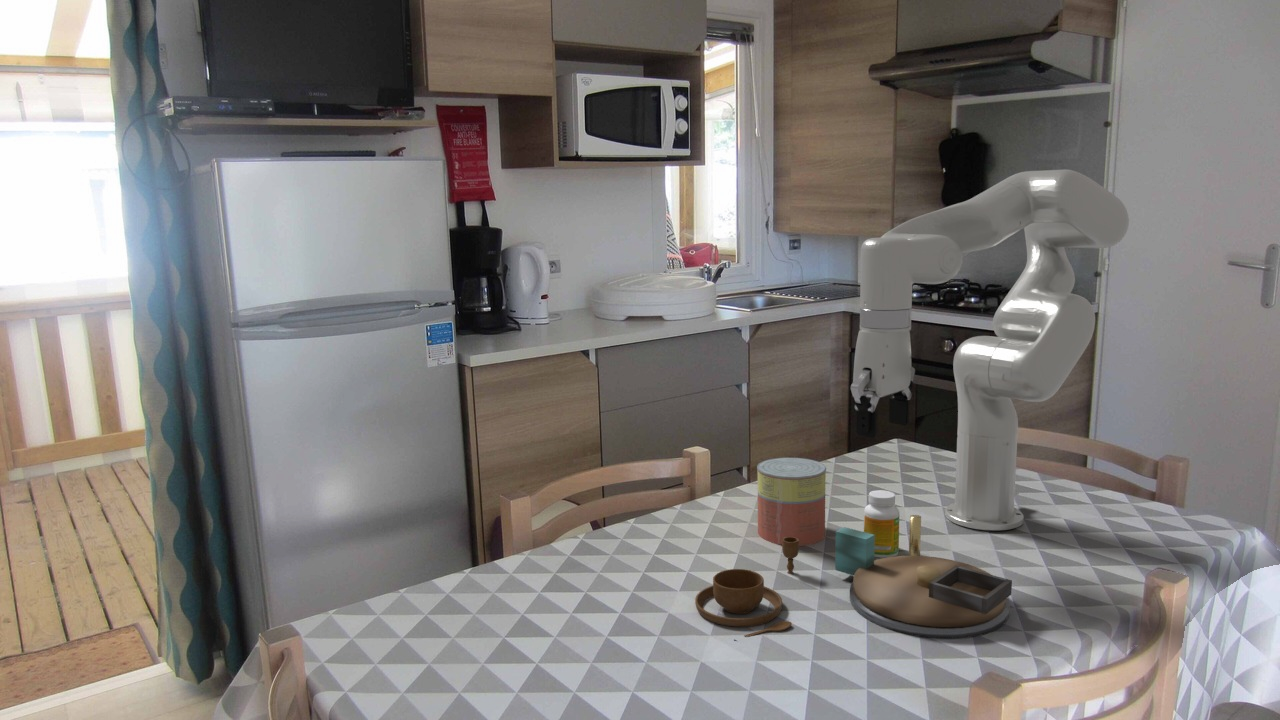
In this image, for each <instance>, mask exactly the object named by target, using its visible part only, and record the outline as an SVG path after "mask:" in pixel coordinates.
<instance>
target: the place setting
mask: <svg viewBox="0 0 1280 720" xmlns="http://www.w3.org/2000/svg"><path fill="white" fill-rule="evenodd" d="M781 546H782V549H781V550H782V554H783V556H784V557H785V558H787V565H786V568H787V570H788V571H787V572H786V573H787V574H788V575H793V574H794V569H795V565H794V559H796V558H797V557H798V554H799V549H800V546H799V539H798V538H795V537H785V538H783V539H782V545H781ZM764 579H765V578H764V577H763V576H762V575H761V574H760V573H758V572H756V571H754V570H750V569H744V568H732V569H726V570H721V571H720V572H717V573H715V574H714V576H713V577H712V585H710V586H707V587H706V588H703V589H701V590H700V591H699V592H698V593H697V594H696V596H695V598H694V600H695V603H694V604H695V607H696V610H697V611H698V613H699V614H700V615H701V616H702V617H703V618H704V619H705V620H707V621H710V622H712V623H714V624H718V625H721V626H726V627H734V628H735V627H736V628H745V627H746V628H748V627H754V626H760V625H764V624H767V623H768V622H771V621H773V620H774V619H775V618H777V616H778V615H779V614H781V613H780V612H781V610H782V608H783V599H782V597H781V595H780V594H779V593H777V592H776V591H775V590H774V589H771V588H769V587H766V586H764V585H765V581H764ZM713 597H714V599H715V601H716V603H717V604H718V605H719V606H721V607H722V608H724V610H725V611H726V612H728V613H731V614H734V615H735V614H736V615H743V614H747V613H750V612H752V611H753V610H754V608H756V607H758V606H760V604H761V603H762V602H763V599H765V600H766V601H767V602H769V603H770V604H771V605H772V606H773V608H774V610H773V611H771V612H769V613H767V614H763V615H759V616H755V617H749V618H748V617H747V618H745V617H744V618H736V617H735V618H734V617H733V618H732V617H725V616H720V615H717V614H714V613H711V612H709V611H707V610H705V609H704V608H703V607H704V605H705V603H706V601H708V600H709V599H710V598H713ZM790 627H792V621H789V620H788V621H779V622H775V623H773V624H772V625H770V626H769V627H766V628H764V629H761V630H758V631H754V632H751V633H748V634H744V635H743V637H744V638H750V637H753V636H756V635H759V634H764V633H766V632H773V633H775V632H777V633H778V632H782V631H785V630H787V629H789V628H790ZM736 641H737V642H738V640H736V639H733V642H736Z"/></svg>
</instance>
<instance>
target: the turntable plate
mask: <svg viewBox="0 0 1280 720" xmlns="http://www.w3.org/2000/svg"><path fill="white" fill-rule="evenodd" d="M874 546H875V535H873V534H870V533H866V532H864V531H861V530H857V529H854V528H849V527H845V526H844V527H841V528H839V529H838V530H836V531H835V561H834V563H835V564H834V565H835V571H838V572H841V573H844V574H847V575H850V576H853V579H852V580H853V582H852V583H853V590H854V594H855V596H856V597H857V599H858V600H859V601H860V602H861V603H862V604H863V605H865V606H866V607H867V608H869V609H871V610H873V611H874V612H877V613H879V614H881V615H883V616H886V617H889V618H892V619H895V620H898V621H902V622H907V623H911V624H917V625H923V626H933V627H963V626H971V625H976V624H981V623H984V622H987V621H990V620H992V619H994V618H996V617H997V616H999V615H1000V614H1001V613H1002V612H1003V610H1004V609H1005V605H1006V598H1007V599H1008V598H1009V597H1010V596H1011V595H1012V587H1013V586H1012V584H1013V579H1008V578H1005V577H1001V576H996V575H993V574H992V573H990V572H988V571H986V570H984V569H981V568H979V567H976V566H974V565H972V564H968V563H965V562H962V561H957V560H952V559H948V558H942V557H936V556H935V557H934V556H925V555H920V556H909V555H896V556H894V557H888V558H879V559H876V560H875V557H874Z"/></svg>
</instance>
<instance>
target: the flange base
mask: <svg viewBox="0 0 1280 720" xmlns="http://www.w3.org/2000/svg"><path fill="white" fill-rule="evenodd" d="M921 531H922V516H921V515H919V514H912V515H910V516H909V538H908V539H909V542H908V543H909V544H908V545H909V547H908V548H909V549H908V556H921V541H922V540H921V539H922V538H921V537H922V535H921V534H922V533H921ZM849 603H850V604H851V606H852V607H853V609H854V610H855V611H856V613H858V614H859V615H860V616H862V617H863V618H864V619H866V620H868V621H869V622H871V623H873V624H876V625H878V626H880V627H882V628H885V629H889V630H891V631H894V632H898V633H902V634H906V635H910V636H917V637H922V638H931V639H966V638H967V639H968V638H973V637H979V636H983V635H987V634H990V633H992V632H994V631H997V630H998V629H1000V628H1001V627H1003V626H1004V625H1005V624H1006V623H1007V622H1008V620H1009V618H1010V602H1009V600H1008V598H1006V605H1005V609H1004V610H1003V612H1002V613H1001V614H1000V615H999V616H997V617H996V618H994V619H992V620H990V621H987V622H984V623H981V624H976V625H971V626H963V627H933V626H923V625H917V624H911V623H907V622H902V621H898V620H895V619H892V618H889V617H886V616H883V615H881V614H879V613H877V612H874V611H873V610H871V609H869V608H867V607H866V606H865V605H863V604H862V603H861V602H860V601H859V600H858V599H857V597H856V596H855V594H854V590H853V582H852V583H851V585H850V587H849Z"/></svg>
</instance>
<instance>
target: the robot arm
mask: <svg viewBox="0 0 1280 720" xmlns="http://www.w3.org/2000/svg"><path fill="white" fill-rule="evenodd" d="M1129 219H1130V218H1129V213H1128V209H1127V208H1126V206H1125V204H1124V203H1123V201H1122V200H1121V199H1120V198H1119V197H1118V196H1117V195H1115V194H1113V193H1112V192H1111V191H1109V190H1108V189H1106V188H1105V187H1103V186H1102V185H1101V184H1099V183H1098V182H1097V181H1095V180H1093V179H1092V178H1090V177H1088V176H1087V175H1085V174H1082V173H1081V172H1079V171H1076V170H1073V169H1049V170H1045V169H1044V170H1028V171H1021V172H1020V171H1019V172H1018V173H1017V172H1016V173H1015V174H1013V175H1011V176H1008V177H1007V178H1005V179H1003V180H1001V181H999V182H997V183H996V184H994V185H993V186H991V187H989V188H987V189H986V190H984V191H982V192H980V193H979V194H977V195H974V196H973V197H972V198H970V199H967V200H965V201H962V202H957V203H955V204H951V205H948V206H946V207H943V208H941V209H938V210H934V211H931V212H928V213H925V214H922V215H919V216H915V217H914V218H911V219H908V220H906V221H905V222H903V223H901V224H899V225H897V226H895V227H893V228H892V229H890V230H888V231H887V232H886V233H884V234H882V236H880V237H871V238H868V239H867V238H866V240H864V241H863V242H862V245H861V248H860V282H859V283H860V284H859V285H860V286H859V287H860V288H859V289H860V291H859V292H860V293H859V294H860V296H859V299H860V300H859V330H858V335H857V339H856V345H855V350H854V361H853V376H852V383H851V385H850V391H851V394H852V401H853V404H854V409H855V411H856V426H855V427H856V430H855V431H856V435H858V436H859V437H860V436H861V437H865V438H870V439H871V438H872V439H874V438H877V436H878V411H876V408H877V405H878V403H879V401H880V398H884V397H888V396H891V397H889V402H888V403H889V404H888V405H889V406H888V408H889V409H888V421H889V423H890V424H893V425H894V424H895V425H900V426H908V425H909V424H910V402H911V401H910V400H911V398H912V392H911V391H912V389H913V386H914V382H913V381H914V376H915V374H916V369H915V368H914V367H913V366H912V346H911V345H912V344H911V333H910V331H912V303H913V299H912V298H913V296H912V295H913V285H914V284H925V285H926V284H927V285H940V284H944V283H946V282H948V281H950V280H952V279H954V277H955V276H956V275H958V273H959V272H960V269H961V268H962V264H963V261H964V260H963V259H964V258H963V254H964V253H973V252H977V251H983V250H987V249H990V248H993V247H995V246H997V245H999V244H1000V243H1002V242H1003V241H1005V240H1006V239H1008V238H1009V237H1011V236H1013V235H1014V234H1016V233H1018V232H1019V231H1021V230H1024V239H1025V245H1026V256H1027V257H1026V264H1025V267H1024V269H1023V271H1022V272H1021V274H1020V275H1019V277H1018V278H1017V280H1016V281H1015V283H1014V284H1013V286H1012V287H1011V289H1010V290H1009V291H1008V293H1007V294H1006V295H1005V297H1004V299H1003V300H1002V301H1001V303H1000V305H999V306H998V308H997V310H996V311H995V313H994V316H993V319H992V329H993V331H994V334H995V335H996V336H992V335H991V336H990V335H977V336H972V337H969V338H968V339H965V340H963V342H961V343H960V345H959V346H958V347H957V349H956V351H955V353H954V356H953V360H952V361H953V362H952V363H953V364H952V366H953V368H952V369H953V376H954V381H955V387H956V395H957V411H958V412H957V431H956V432H957V433H956V434H957V435H956V436H957V437H956V465H955V467H956V468H955V488H954V489H955V490H954V491H955V494H954V502H953V503H950V504H949V505H947V506H946V507H945V513H944V514H945V517H946V518H947V520H949V521H950V522H951V523H953V524H955V525H958V526H961V527H965V528H969V529H974V530H981V531H991V532H992V531H993V532H994V531H1007V530H1013V529H1016V528H1019V527H1021V526H1022V525H1023V524H1024V519H1025V518H1024V514H1023V513H1022V512H1021V511H1020V510H1019V509H1017V508H1015V498H1016V497H1017V496H1019V494H1020V490H1019V488H1018V487H1017V486H1016V474H1017V473H1016V472H1017V452H1018V433H1019V432H1018V431H1019V420H1018V419H1019V418H1018V414H1017V410H1016V408H1015V405H1014V402H1013V401H1012V399H1014V400H1020V401H1024V402H1031V403H1040V402H1045V401H1048V400H1049V399H1050V398H1052V397H1054V395H1055V394H1056V393H1057V392H1058V391H1059V389H1060V388H1061V387H1062V386H1063V384H1064V382H1065V381H1066V379H1067V378H1068V377H1069V375H1070V374H1071V372H1072V370H1073V369H1074V367H1075V366H1076V365H1077V363H1078V362H1079V360H1080V359H1081V357H1082V356H1083V353H1084V352H1085V351H1086V350H1087V348H1088V346H1089V344H1090V342H1091V340H1092V338H1093V334H1094V332H1095V327H1096V314H1095V309H1094V307H1093V305H1092V304H1091V302H1090V301H1089V300H1088V299H1087V298H1086V297H1083V296H1081V295H1079V294H1075V293H1072V292H1073V289H1074V287H1075V283H1076V277H1075V272H1074V269H1073V266H1072V264H1071V262H1070V261H1069V258H1068V256H1067V255H1068V254H1067V251H1066V248H1075V249H1076V248H1077V249H1078V248H1080V249H1082V248H1083V249H1108V248H1111V247H1113V246H1115V245H1117V244H1118V243H1120V242H1121V241H1123V238H1124V237H1125V236H1126V234H1127V232H1128V230H1129V223H1130V221H1129ZM869 398H870V400H869Z"/></svg>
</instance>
